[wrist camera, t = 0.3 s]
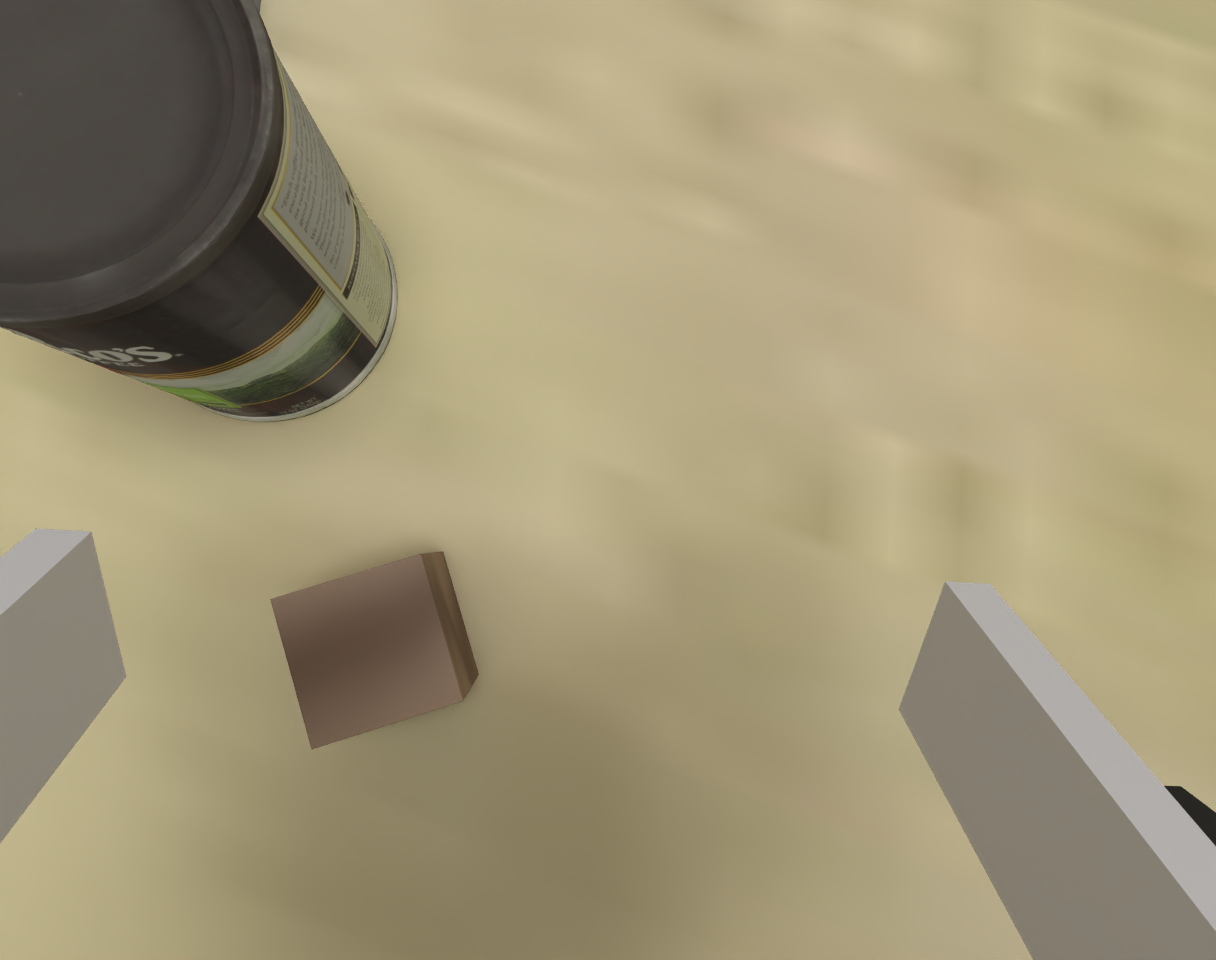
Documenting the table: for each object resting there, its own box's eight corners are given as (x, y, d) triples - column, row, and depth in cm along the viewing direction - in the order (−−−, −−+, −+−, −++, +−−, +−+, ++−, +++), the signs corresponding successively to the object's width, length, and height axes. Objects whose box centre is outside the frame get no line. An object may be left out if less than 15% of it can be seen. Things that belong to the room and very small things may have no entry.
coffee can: (324, 468, 30) (118, 404, 16) (86, 349, 30) (-337, 177, 16) (447, 244, 31) (355, -2, 17) (218, 127, 31) (-67, -221, 17)
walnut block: (478, 673, 30) (462, 700, 25) (353, 713, 29) (311, 749, 24) (443, 551, 30) (420, 554, 25) (318, 589, 30) (270, 599, 25)
